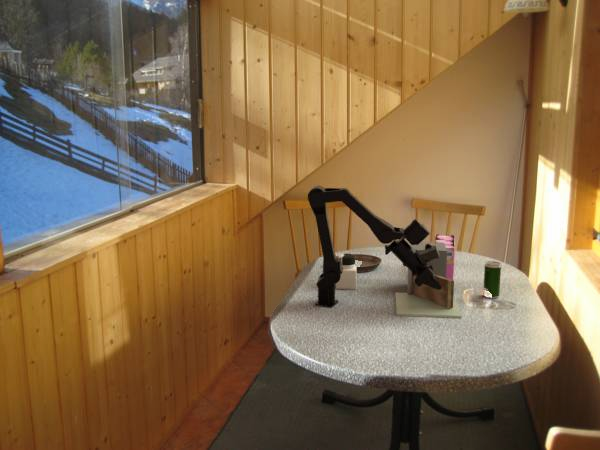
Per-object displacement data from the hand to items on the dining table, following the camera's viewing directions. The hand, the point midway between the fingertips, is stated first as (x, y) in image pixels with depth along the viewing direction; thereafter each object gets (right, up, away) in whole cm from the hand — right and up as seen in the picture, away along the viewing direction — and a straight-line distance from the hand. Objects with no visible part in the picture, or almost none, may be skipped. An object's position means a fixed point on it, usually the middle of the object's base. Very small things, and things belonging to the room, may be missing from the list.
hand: (440, 288), depth 206 cm
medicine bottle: (-29, -2, +25) cm, 38 cm away
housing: (-3, -5, +10) cm, 11 cm away
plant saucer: (-23, +3, +51) cm, 56 cm away
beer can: (+20, -4, +13) cm, 24 cm away
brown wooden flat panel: (-1, -4, +6) cm, 7 cm away
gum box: (+10, +1, +40) cm, 41 cm away
